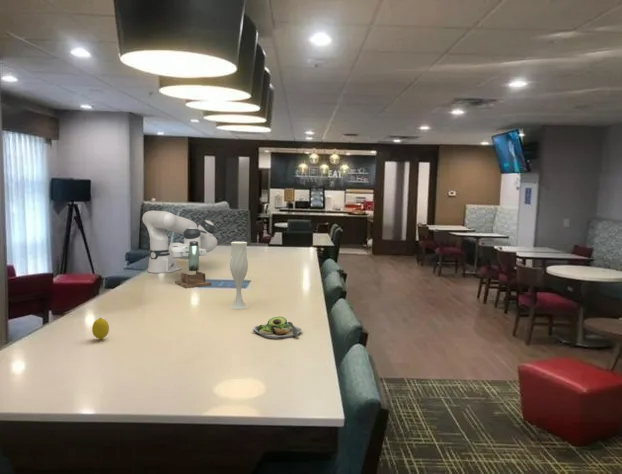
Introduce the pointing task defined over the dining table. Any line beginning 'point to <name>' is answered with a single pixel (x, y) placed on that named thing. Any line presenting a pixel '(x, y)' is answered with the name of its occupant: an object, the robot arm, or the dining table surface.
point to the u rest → (193, 280)
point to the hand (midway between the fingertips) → (194, 254)
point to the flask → (193, 256)
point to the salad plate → (277, 329)
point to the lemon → (100, 328)
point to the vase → (238, 271)
